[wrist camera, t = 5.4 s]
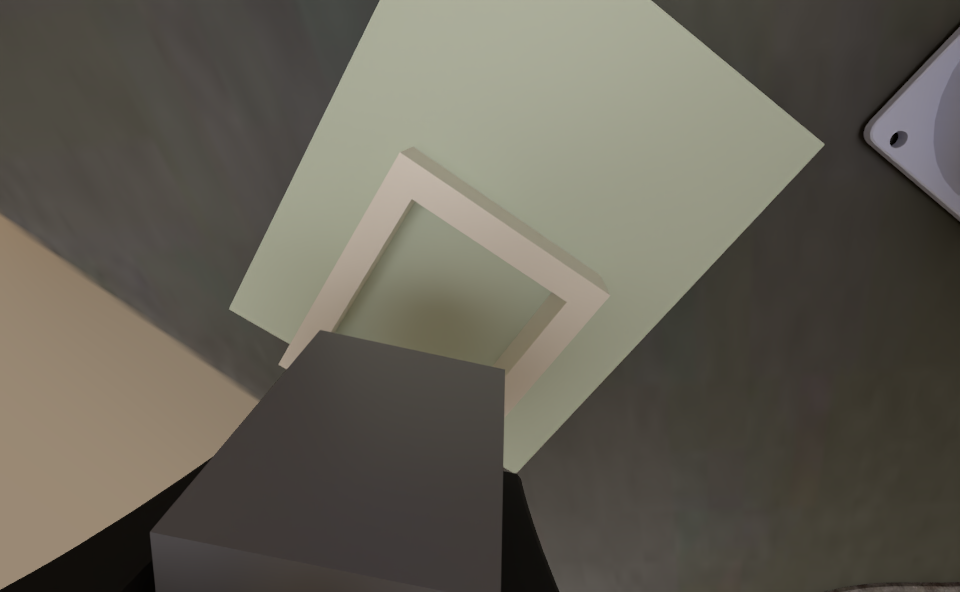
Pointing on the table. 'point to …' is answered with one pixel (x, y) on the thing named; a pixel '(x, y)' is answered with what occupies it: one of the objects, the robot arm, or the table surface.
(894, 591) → the pliers
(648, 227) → the board
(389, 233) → the beige open frame
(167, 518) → the plug
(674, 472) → the table surface
